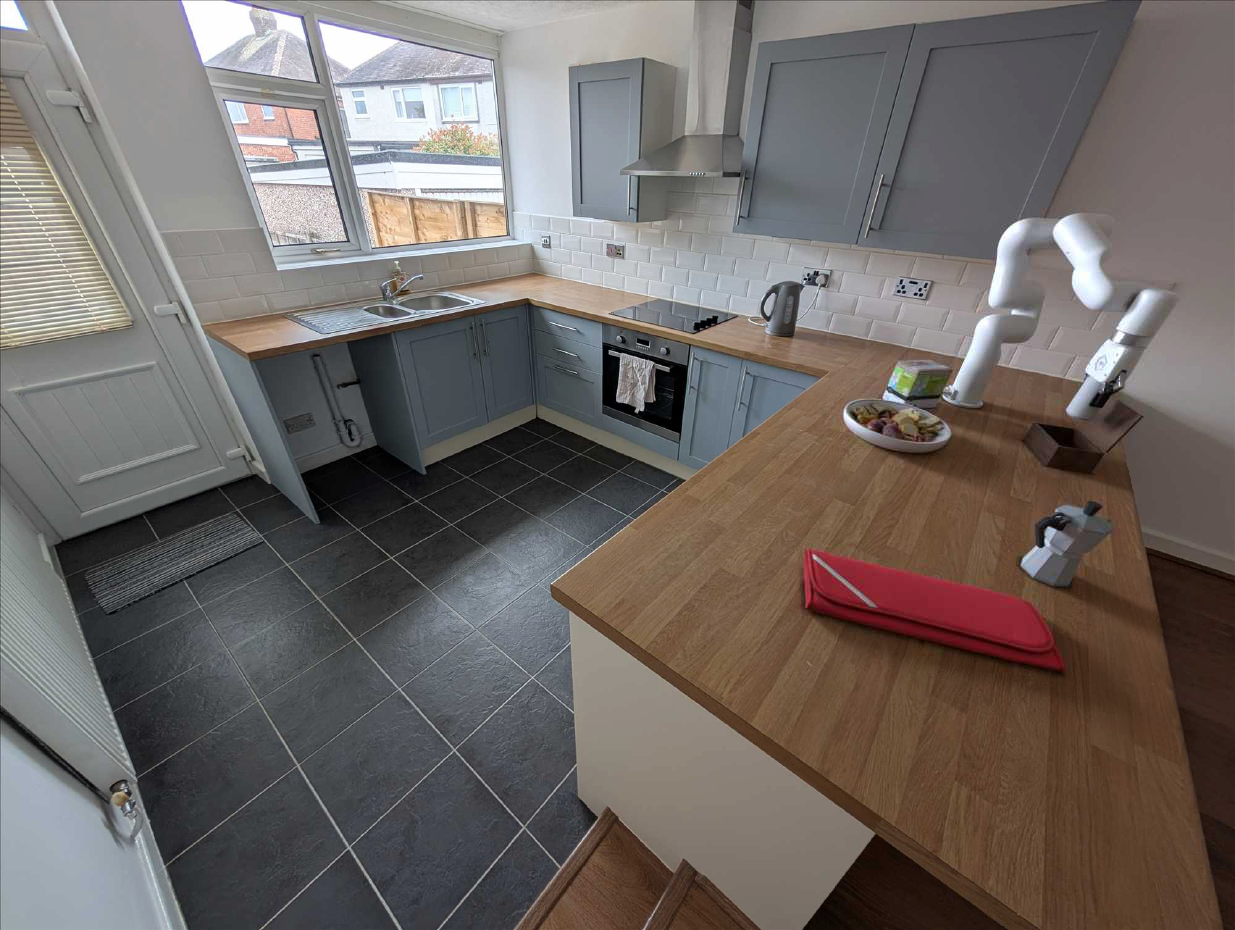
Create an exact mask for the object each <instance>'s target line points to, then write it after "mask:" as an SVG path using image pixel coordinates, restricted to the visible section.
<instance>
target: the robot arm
mask: <svg viewBox="0 0 1235 930" xmlns="http://www.w3.org/2000/svg"><path fill="white" fill-rule="evenodd" d="M1115 231H1116V222H1115V220H1114V219H1113V218H1112V217H1111V216H1110V215H1108V214H1105V213H1104V214H1103V213H1088V212H1077V213H1071V214H1069V215H1066V216H1064V217H1063V218H1049V217H1029V218H1028V217H1027V218H1023V219H1021V220H1017V221H1016V222H1014V223H1012V224H1011V225H1010V226H1009V227H1008V228H1006V230H1005V231H1004V232H1003V233H1002V236H1001V238H1000V239H999V241H998V245H997V253H996V264H995V268H994V272H993V276H992V281H991V285H990V289H989V294H988V299H987V301H988V306H989V307H990V308H992V309H994V310H1004V311H1006V310H1008V311H1011V313H994V314H990V315H986V316H984V317H983V318H981V319H980V320H979V321H978V323H977V324H976V327H975V329H974V334H973V338H972V341H971V344H970V347H969V348H968V351H967V353H966V355H965V358H964V361H963V362H962V364H961V367H960V370H959V371H958V373H957V375H956V377H955V380H954V381H953V383H952V384H949V385H948V386H945V388H944V390H943V392H942V394H941V395H942V399H943V400H945V401H946V402H947V403H949V404H952V405H954V406H957V407H962V408H964V409H965V408H967V409H979V408H982V407H983V405H984V402H983V401H982V399H981V398H982V396H983V394H984V392H985V390H986V388H987V386H988V384H989V382H990V380H991V378H992V376H993V374H994V372H995V370H996V368H997V366H998V364H999V362H1000V360H1001V357H1002V344H1022V343H1025V342H1027V341H1029V340H1031V338H1033V336H1034V335H1035V333H1036V330H1037V329H1038V325H1039V323H1040V318H1041V313H1042V310H1043V308H1044V303H1045V299H1046V289H1045V287H1044V284H1043V283H1041V281H1039V280H1035V279H1027V275H1028V271H1029V268H1030V261H1029V255H1028V253H1027V250H1028V249H1033V250H1061V251H1062V253H1063V254H1064V255H1065V257H1066V258H1067V260H1068V261H1069V262H1070V264H1071V265H1072V267H1073V268H1074V269H1073V272H1072V276H1071V287H1072V289H1073V291H1074V293H1075V294H1076V296H1077V297H1078V299H1079V300H1080V302H1081V303H1082V304H1083V305H1084V306H1085V307H1086V308H1088V309H1089V310H1091V311H1094V312H1109V313H1110V312H1114V313H1116V312H1117V313H1125V314H1124V316H1123V317H1122V318H1121V320H1120V321H1119V323H1118V325H1117V326H1116V328H1115V329H1114V331H1113V332H1112V333H1111V335H1110V337H1109V338H1107V340H1106V341H1105V342H1104V343H1103V344H1102V345H1101V347H1099V349H1098V350H1097V351H1096V352H1095V354H1094V355H1093V356H1092V358H1091V359H1090V361H1089V363H1088V364H1087V365H1086V366H1085V369H1084V372H1085V377H1084V378H1083V380H1082V383H1081V385H1080V386H1079V388H1078V389H1077V391H1076V392H1075V395H1076V394H1077V392H1078V391H1079V389H1080V388H1081V386H1082V385H1083V383H1084V382H1085V380H1086V379H1087V378H1088V377H1090V376H1092V377H1093V378H1094V379H1095V380H1097V381H1098V382H1100V383H1102V386H1101V388H1100V391H1099V393H1098V392H1097V393H1096V394H1095V396H1094V397H1093V399H1092V400H1091V402H1090V403H1089V406H1090V407H1097V408H1103V407H1104V405H1105V404H1106V402H1107V401H1108V399H1109V398H1110V397H1111V396H1115V394H1116V393H1118V392H1119V391H1122V390H1124V389H1125V388H1126V381H1127V380H1128V379H1129V377H1130V376H1131V374H1132V373H1133V371H1134V370H1135V368H1136V367H1137V365H1138V364H1139V362H1140V359H1141V358H1142V356H1143V354H1144V351H1145V350H1146V349H1147V348H1148V347H1149V345H1150V344H1151V342H1152V341H1153V339H1154V338H1155V336H1156V335H1157V334H1158V332H1159V331H1160V329H1161V327H1162V326H1163V325H1164V323H1165V322H1166V321H1167V319H1168V318H1169V316H1170V315H1171V313H1172V312H1173V310H1174V309H1175V308H1176V306H1177V305H1178V303H1179V302H1180V300H1181V295H1180V294H1179V293H1177V292H1175V291H1171V290H1168V289H1163V288H1162V289H1161V288H1157V287H1154V286H1152V285H1150V284H1148V283H1145V282H1141V281H1123V280H1112V279H1111V278H1110V277H1109V276H1108V274H1107V273H1106V272H1105V270H1104V268H1103V266H1102V265H1104V264H1105V263H1106V262H1108V261H1109V260H1110V259H1111V258H1112V257H1113V256H1114V254H1115V251H1116V248H1115V245H1114V243H1112V242H1111V241H1110V239H1111V237H1112V236H1113V235H1114V233H1115ZM1110 381H1114V383H1109V382H1110ZM1107 385H1110V386H1111V387H1109V388H1107V389H1106V387H1107Z"/></svg>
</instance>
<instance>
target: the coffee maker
mask: <svg viewBox="0 0 1235 930" xmlns="http://www.w3.org/2000/svg"><path fill="white" fill-rule="evenodd" d="M1102 509H1103V505H1102V503H1101V504H1100V503H1099V502H1096V501H1093V500H1088V501H1086V503H1085V505H1084V508H1083V507H1078V506H1075V505H1069V504H1064V505H1061V506H1058V507H1056V508H1055V511H1054V512H1052V513H1050V514H1049V515H1048V516H1044V517H1042V518H1041V519H1040V520H1039V521H1037V522H1036V523H1035V524H1034V535H1035V546H1034V547H1033V548H1031V550H1029V551H1028V552H1027V553H1026V554H1025V555H1024V556H1023V557H1022V559H1021V562H1020V568H1022V570H1024V571H1025V572H1026V573H1027V574H1028V576H1030V577H1031V579H1035V580H1036V581H1039V582H1042V583H1044V584H1046V585H1048V586H1051V587H1059V588H1060V587H1063V588H1064V587H1065V588H1067V587H1069V586H1070V584H1071V581H1072V580H1073V578H1074V576H1075V573H1076V571H1077V569H1078V568H1079V565H1080V563H1081V561H1082V559H1083V558H1082V557H1083V555H1085V554H1087V553H1090V552H1092V550H1093V549H1094V548H1095V547H1097V546H1098V545H1099V544H1100V543H1102V541H1104V540H1105V539H1106V537H1108V536H1109V535H1110V534H1111V533H1113V531H1114V530H1115V529H1114V527H1113V526H1112V524H1114V523H1115V522H1114V521H1113V520H1110V519H1109V518H1105V517H1103V516H1101V515H1099V514H1097V513H1098V512H1100V511H1101V510H1102Z"/></svg>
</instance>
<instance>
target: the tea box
mask: <svg viewBox="0 0 1235 930" xmlns="http://www.w3.org/2000/svg"><path fill="white" fill-rule="evenodd" d="M953 371H954V369H953V368H951V367H949V366H947V365H945V364H942V363H940V362H938V361H936V360H933V359H912V360H911V359H909V360H898V361H897V362H896V365H895V367H894V369H893V372H892V374H891V377H890V379H889V380H888V384H887V385H886V389H885V391H884V393H883V396H882V400H890V401H895V402H900V403H904V404H907V405H911V406H914V407H917V408H919V409H929V408H931V409H932V408H936V407H937V404H938V403H939V401H940V398H941V396H942V395H943V394H942V392H943V390H944V388H946V387H947V384H948V382H949V379H950V378H951V376H952V373H953Z"/></svg>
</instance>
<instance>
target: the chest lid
mask: <svg viewBox="0 0 1235 930" xmlns="http://www.w3.org/2000/svg"><path fill="white" fill-rule="evenodd" d="M1144 417H1145V416H1144V415H1143V414H1141V413H1140V412H1138V411H1137V410H1136V409H1134V408H1132V406H1129V405H1128V404H1127V403H1125V402H1124V401H1123V400H1121V399H1120V398H1118V397H1116V396H1115V395H1113V396H1111V397H1110V398H1109V399H1108V401H1107V402H1106V404H1105V405H1104V407H1103V408H1101V409H1100V410H1099V412H1098V413H1097V414H1096V416H1095V417H1094V418H1093V419H1090V420H1080V421H1078V423H1077V424H1076V425H1075V427H1074V428H1076V429H1077V430H1078V431H1079V432H1080V433H1082V434H1083V435H1084V436H1085V437H1086V438H1087V439H1088V440H1090V441H1091V442H1092V443H1093V444H1094V445H1095V446H1097V447H1098V448H1099V449H1100V450H1101V451H1102V452H1103V453H1105V454H1108V453H1109V452H1111V450H1112V449H1113V448H1115V446H1116V445H1118V443H1119V442H1120V441H1121V440H1122V439H1124V437H1125V436H1126V435H1127V434H1129V432H1130V431H1131V430H1132V429H1133V428H1134V427H1135V426H1136V425H1138V423H1139V422H1140V421H1142V419H1144Z"/></svg>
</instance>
